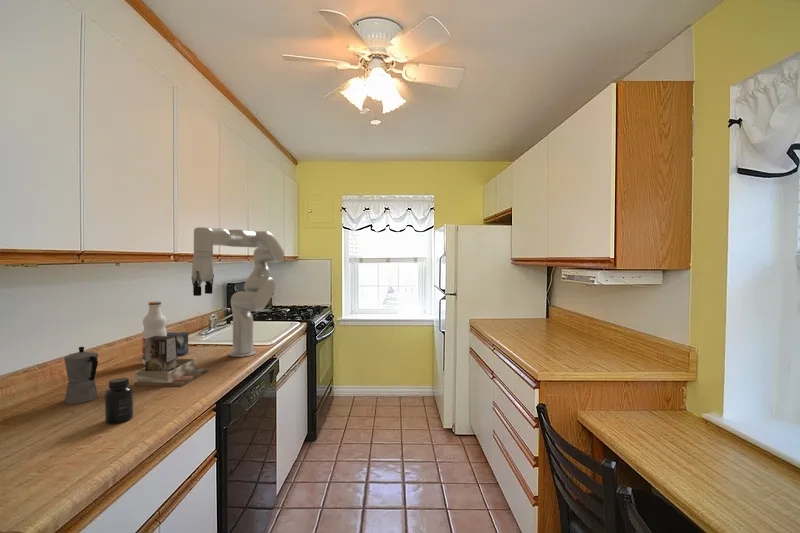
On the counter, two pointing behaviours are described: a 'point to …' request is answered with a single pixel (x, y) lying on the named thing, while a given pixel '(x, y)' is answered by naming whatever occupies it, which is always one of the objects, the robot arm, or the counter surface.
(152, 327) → the fruit juice
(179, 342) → the small box
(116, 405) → the supplement bottle
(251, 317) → the robot arm
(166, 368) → the coffee box
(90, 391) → the coffeepot
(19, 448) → the counter surface
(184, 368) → the beige divided tray
